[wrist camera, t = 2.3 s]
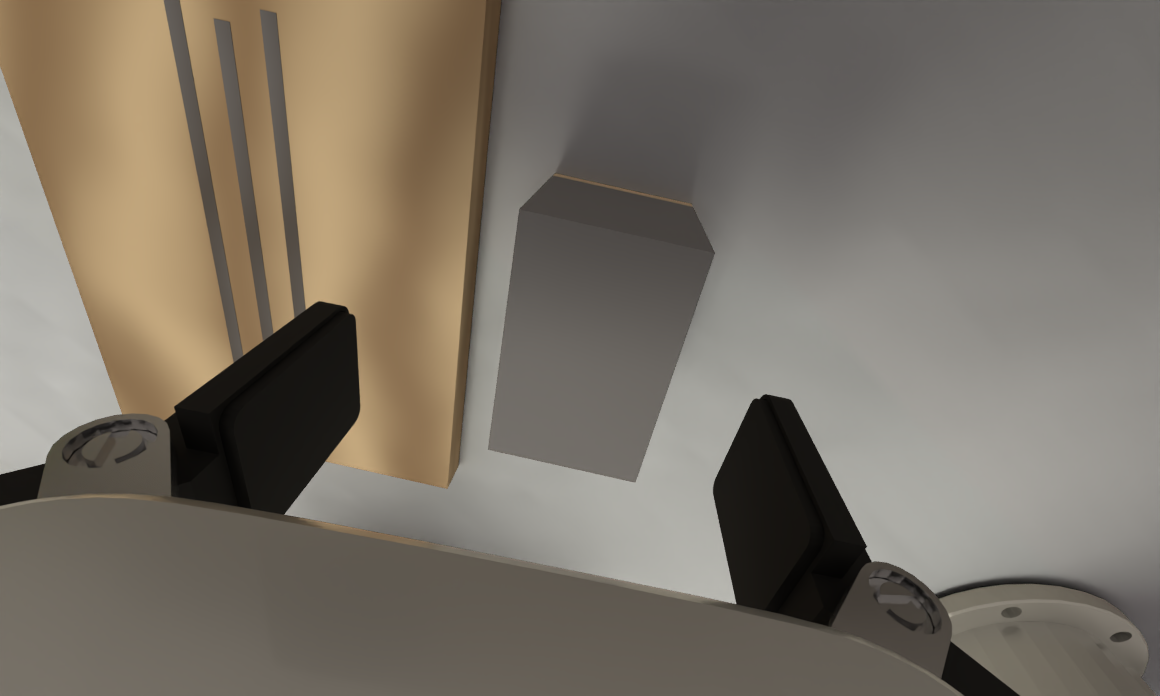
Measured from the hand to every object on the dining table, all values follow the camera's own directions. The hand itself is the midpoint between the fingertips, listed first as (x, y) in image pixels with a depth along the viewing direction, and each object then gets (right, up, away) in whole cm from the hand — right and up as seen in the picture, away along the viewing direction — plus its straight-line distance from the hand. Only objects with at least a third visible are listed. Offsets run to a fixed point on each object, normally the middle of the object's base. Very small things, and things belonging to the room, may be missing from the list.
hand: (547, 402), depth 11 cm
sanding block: (+2, +4, +8) cm, 9 cm away
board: (-11, +6, +8) cm, 15 cm away
